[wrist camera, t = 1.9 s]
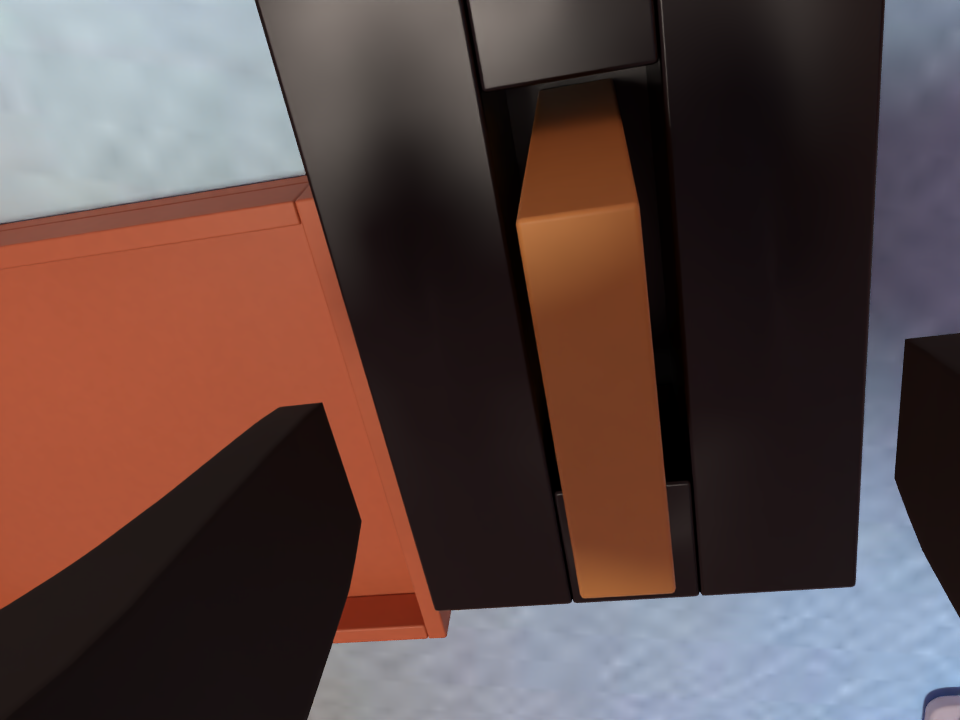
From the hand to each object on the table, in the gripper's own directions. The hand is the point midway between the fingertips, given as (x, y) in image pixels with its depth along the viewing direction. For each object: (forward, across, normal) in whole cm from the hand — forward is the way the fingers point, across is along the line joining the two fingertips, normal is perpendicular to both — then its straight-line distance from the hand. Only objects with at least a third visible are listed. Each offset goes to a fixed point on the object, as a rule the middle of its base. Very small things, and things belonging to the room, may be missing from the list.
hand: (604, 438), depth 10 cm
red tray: (+8, +12, +4) cm, 15 cm away
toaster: (+8, 0, 0) cm, 8 cm away
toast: (+7, 0, 0) cm, 7 cm away
